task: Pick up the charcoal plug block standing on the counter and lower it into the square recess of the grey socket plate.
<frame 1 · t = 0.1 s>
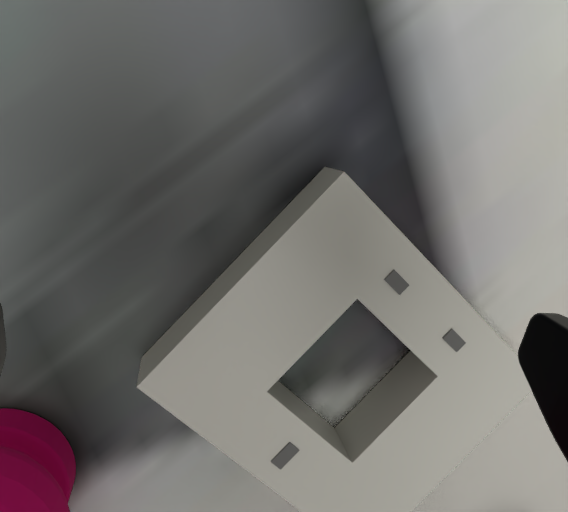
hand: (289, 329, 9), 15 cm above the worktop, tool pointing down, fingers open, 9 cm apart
pepper mill: (5, 466, 25), on the worktop
socket plate: (335, 356, 27), on the worktop
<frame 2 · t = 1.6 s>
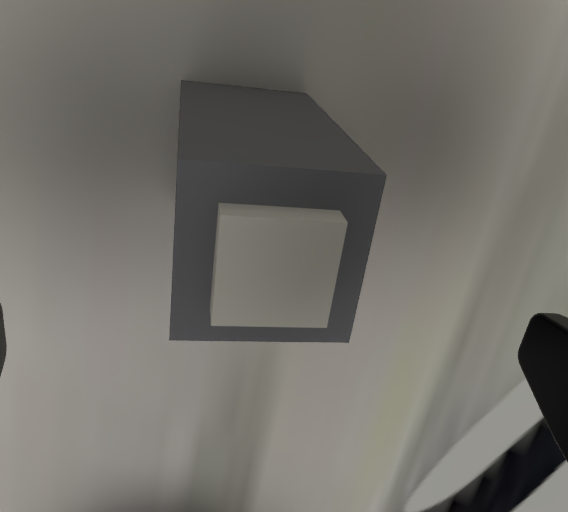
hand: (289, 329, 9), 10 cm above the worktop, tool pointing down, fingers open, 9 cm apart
plug: (239, 148, 18), on the worktop
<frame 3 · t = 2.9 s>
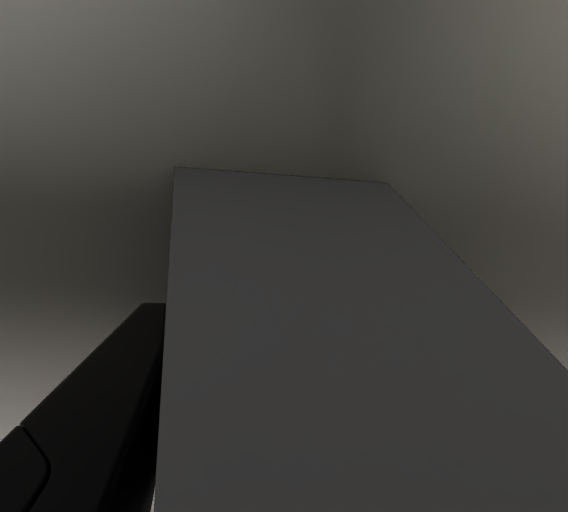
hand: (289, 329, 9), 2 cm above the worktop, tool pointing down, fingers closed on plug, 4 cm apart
plug: (272, 270, 11), on the worktop, touching gripper
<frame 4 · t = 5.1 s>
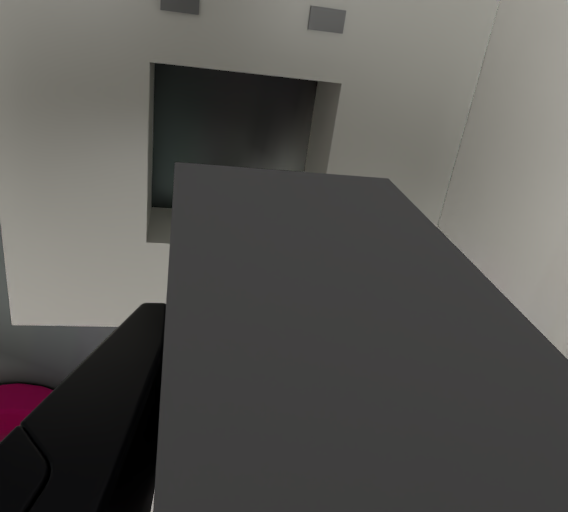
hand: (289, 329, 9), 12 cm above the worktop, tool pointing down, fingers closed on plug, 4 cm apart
pepper mill: (24, 433, 24), on the worktop
plug: (272, 266, 11), point 10 cm above the worktop, touching gripper
socket plate: (232, 139, 19), on the worktop
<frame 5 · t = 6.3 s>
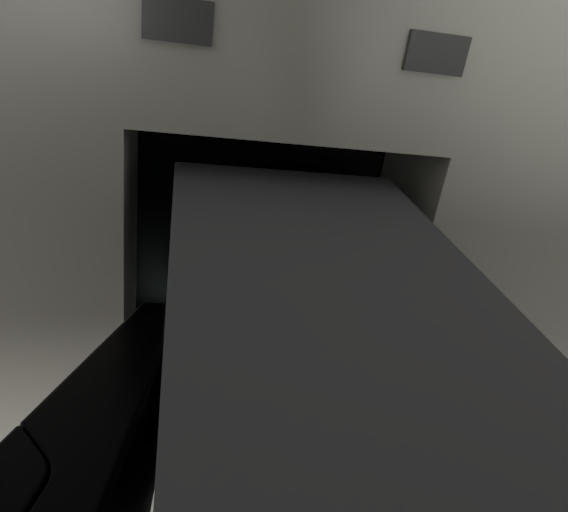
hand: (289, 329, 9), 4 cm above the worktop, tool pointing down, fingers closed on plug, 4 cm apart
plug: (272, 266, 11), point 2 cm above the worktop, touching gripper
socket plate: (257, 223, 13), on the worktop
when the fingers open (3 cm above the worktop, at t = 7.2 s): plug drops 1 cm, resting in socket plate.
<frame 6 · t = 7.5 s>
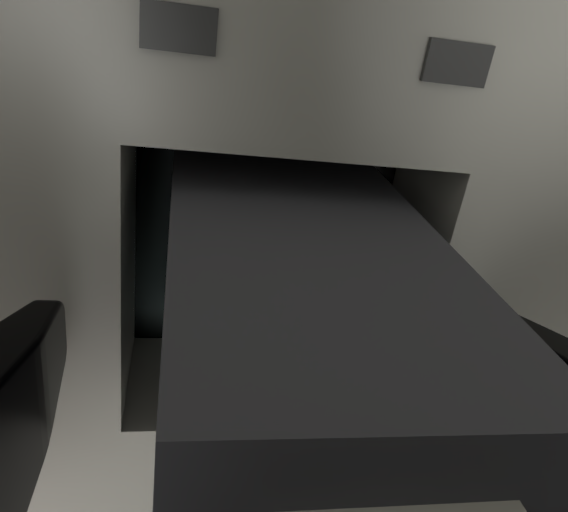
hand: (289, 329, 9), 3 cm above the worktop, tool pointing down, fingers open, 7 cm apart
plug: (261, 235, 12), resting in socket plate
socket plate: (262, 238, 12), on the worktop
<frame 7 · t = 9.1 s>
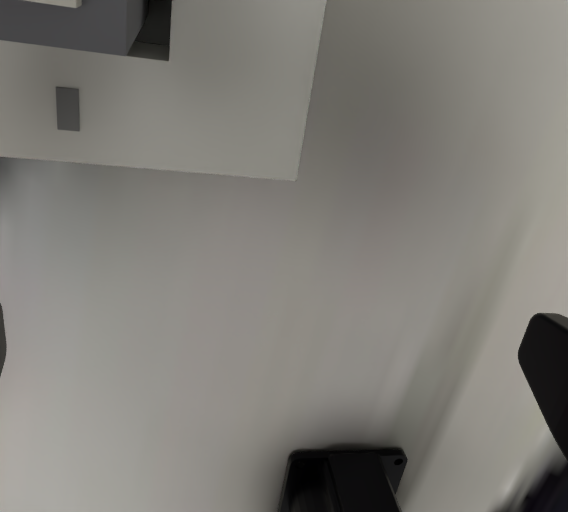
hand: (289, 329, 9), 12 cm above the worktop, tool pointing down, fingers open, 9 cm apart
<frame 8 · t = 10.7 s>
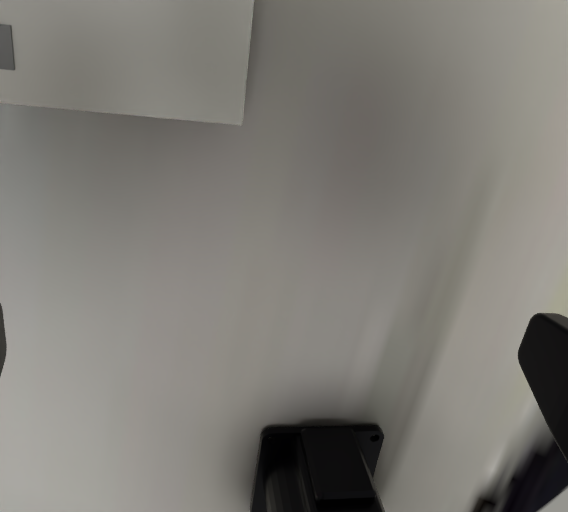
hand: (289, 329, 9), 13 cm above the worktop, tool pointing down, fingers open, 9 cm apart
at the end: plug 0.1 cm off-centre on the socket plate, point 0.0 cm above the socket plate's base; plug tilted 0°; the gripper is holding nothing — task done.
